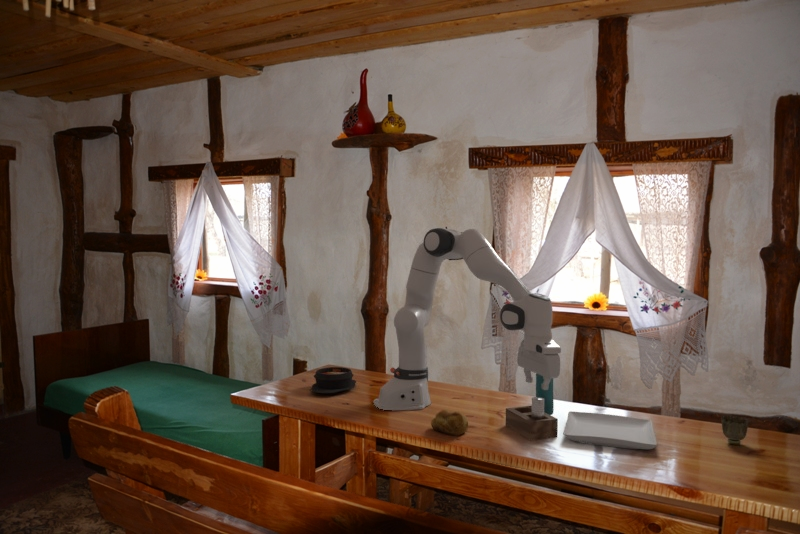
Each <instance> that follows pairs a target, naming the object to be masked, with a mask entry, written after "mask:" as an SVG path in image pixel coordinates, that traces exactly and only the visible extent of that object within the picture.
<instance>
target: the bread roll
mask: <svg viewBox="0 0 800 534" xmlns="http://www.w3.org/2000/svg"><path fill="white" fill-rule="evenodd" d="M430 426H431V427H432V429H434V430H435V431H437V432H441V433H444V434H446V435H448V434H450V436H459V435H460V434H461V435H462V434H464V433H465V432H467V430H468V428H469V419H468V418H467V417H466V415H465V414H463V413H461V412H460V411H452V412H451V411H450V410H447V409H442V410H440V411H438V412H437V413H436V415H435V417H434V418H432V420H431V421H430ZM461 435H460V436H461Z"/></svg>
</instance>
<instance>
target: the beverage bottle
mask: <svg viewBox="0 0 800 534" xmlns="http://www.w3.org/2000/svg"><path fill="white" fill-rule="evenodd" d="M543 382H544V379H543V376H542V375H539V374H537V373H535V397H541V398H544V412H545V413H547V414H549V415H551V416H553V414H554V410H555V407H554V406H555V405H554V378H552V379H551V381H550V383H549V389H548V390H543V389H541V387H542V386H541V384H543Z"/></svg>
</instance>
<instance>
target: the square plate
mask: <svg viewBox="0 0 800 534" xmlns="http://www.w3.org/2000/svg"><path fill="white" fill-rule="evenodd" d="M563 435H564V436H565V437H566V438H567V439H568V440H569V441H573V442H578V443H583V444H587V445H596V446H605V447H614V448H621V449H632V450H653V449H655V448H656V447H657V446H658V440H657V437H656V434H655V427H654V422H653V420H651V419H648V418H639V417H632V416H631V417H630V416H623V415H616V414H608V413H607V414H606V413H596V412H586V411H585V412H584V411H583V412H581V411H571V410H570V411H568V414H567V420H566V423H565V426H564V430H563Z"/></svg>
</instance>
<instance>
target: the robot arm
mask: <svg viewBox="0 0 800 534" xmlns="http://www.w3.org/2000/svg"><path fill="white" fill-rule="evenodd" d="M445 260H448V261H460V260H461V261H462V260H464V263H465V264H466V265H467V268H468V269H469V270H470V273H472V274H473V275H474V277H476V278H477V279H479V280H481V281H484V282H489V283H493V284H496V285H498V286H500V287H501V288H503V289H504V290H506V292H507V293H508V294H509V295H510V297H511V298H512V299H513V300H514V301H511V302H508V303H505V304H504V305H503V306H502V307H501V309H500V312H499V320H500V323H501V325H502V326H503V328H505V329H506V330H508V331H512V332H513V331H514V332H515V331H523V333H524V335H523V336H524V337H523V338H524V339H522V340H521V342H520V344H519V347H518V350H517V358H516V362H517V365H518V367H521V369H522V368H523V374H524V376H525V382H526V383H528V384H531V383H533V381H534V378H533V376H532V372H533V373H534V374H536V373H537V374H539V375H542V376H543V379H544V382H543V384H541V386H542V387H541V389H543V390H548V389H549V383H550V381H551V379H552V378H553V379H558V378H559V376H560V375H561V374H560V373H561V356H560V355H559V354H561V353H562V348H561V346H560V345H559V344H558V343H556V341H555V340H554V339H553V333H552V325H553V320H554V319H553V317H554V315H553V313H554V311H553V303H552V299H551V298H550V296H549V297H548V296H547V295H545V294H543V293H535V292H534V293H532V292H531V291H530V289H528V287H527V285H525V283H523V281H522V279H521V278H520V277H519V276H518V275H517V274H516V272H515V271H514V270H513V269H512V268H511V267H510V266H509V265H508V264H507V263H505V261H504V260H503V259H502V258H501V257H500V255H499V254H498V253H497V252H496V250H495V249H494V248H493V245H492V244H491V243H490V242H489V240H488V239H487V238H486V237H485V235H483V233H481V232H480V231H479V230H478V229H477V228H469V229H466V230H464V231H462V232H461V231H458V230H455V229H447V228H441V227H435V228H432V229H430V230H428V231H427V232H426V233H425V235H424V238H423V242H422V243H420V244H419V245H418V247H417V249H416V252H415V253H414V256H413V258H412V262H411V265H410V266H411V267H410V270H409V274H408V278H407V282H406V291H405V292H406V293H405V303H404V306H402V307H401V308H399V309H398V311H397V312H396V313H395V315H394V319H393V324H394V327H395V333H396V339H397V345H398V366H397V368H395V367H391V368H390V369H389V370H390V371H389V372H390V373H392V374H393V377H392V378H391V379H390V380H389V381H387V382H386V383H385V384H384V385H382V386H381V387H380V389H379V390H380V391H379V395H378V398H375V399H374V400H373V401H372V402H373V403H374V404H373V403H372V404H373V405H375V406H376V407H375V406H374V407H375V408H377V407H378V408H379V409H378V408H377V409H378V410H380V409H383V410H382V411H384V410H392V411H410V410H411V411H413V410H424V409H425V407H427V406H430V405H431V404H432V400H431V398H430V394H429V387H428V380H429V367H428V365H427V364H428V359H427V358H428V348H427V347H428V346H427V344H426V339H425V337H426V336H425V328H426V327H427V326H428V324H429V323H430V320H431V314H432V308H433V301H434V295H435V291H436V290H435V289H436V286H437V281H438V277H439V273H440V271H441V270H440V269H441V265H442V263H443V262H444V261H445Z"/></svg>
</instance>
